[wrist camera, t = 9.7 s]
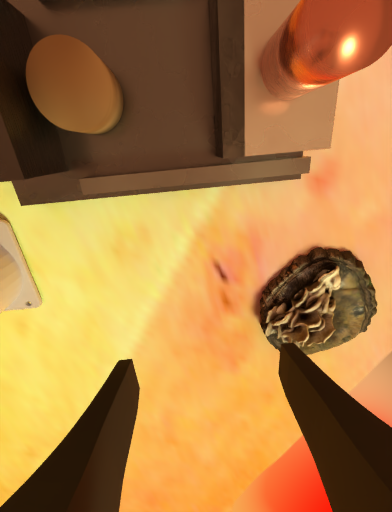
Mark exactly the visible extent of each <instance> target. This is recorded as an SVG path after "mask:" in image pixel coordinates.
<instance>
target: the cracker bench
mask: <svg viewBox="0 0 392 512" xmlns="http://www.w3.org/2000/svg"><path fill="white" fill-rule="evenodd" d="M50 35H68V36H71V37H74V38H76V39H78V40H80V41H81V42H83V43H84V44H86V45H87V46H88V47H89V48H90V49H91V50H92V51H93V52H94V53H95V54H96V55H97V56H98V57H99V58H100V59H101V60H102V61H103V62H104V64H105V65H106V66H107V67H108V68H109V69H110V70H111V71H112V72H113V74H114V75H115V77H116V78H117V80H118V82H119V84H120V87H121V90H122V94H123V111H122V115H121V118H120V120H119V121H118V123H117V124H116V126H115V127H114V128H112V129H111V130H110V131H108V132H106V133H103V134H87V133H81V132H74V131H69V130H65V129H62V128H60V127H58V126H56V125H54V124H53V123H52V122H50V121H49V120H48V119H47V118H45V117H44V115H43V114H42V113H41V112H40V111H39V109H38V108H37V107H36V105H35V103H34V102H33V100H32V98H31V95H30V93H29V90H28V86H27V81H26V64H27V59H28V57H29V54H30V52H31V50H32V48H33V47H34V46H35V45H36V44H37V43H38V42H39V41H40V40H42V39H43V38H45V37H48V36H50ZM310 161H311V157H308V156H303V151H297V152H286V153H276V154H265V155H255V156H245V157H234V158H224V159H223V158H219V157H217V154H216V134H215V113H214V92H213V71H212V50H211V29H210V8H209V0H0V182H4V181H12V183H13V186H14V189H15V191H16V194H17V196H18V199H19V201H20V204H21V206H24V205H35V204H45V203H55V202H66V201H76V200H86V199H97V198H107V197H117V196H127V195H138V194H148V193H158V192H169V191H179V190H189V189H200V188H210V187H220V186H231V185H241V184H251V183H262V182H272V181H282V180H292V179H301V174H304V173H309V171H310Z"/></svg>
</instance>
